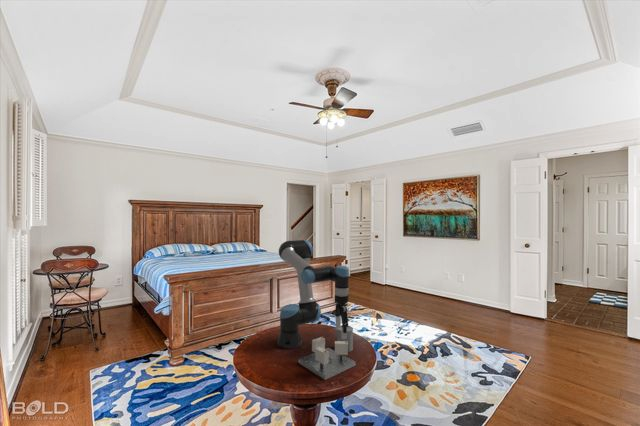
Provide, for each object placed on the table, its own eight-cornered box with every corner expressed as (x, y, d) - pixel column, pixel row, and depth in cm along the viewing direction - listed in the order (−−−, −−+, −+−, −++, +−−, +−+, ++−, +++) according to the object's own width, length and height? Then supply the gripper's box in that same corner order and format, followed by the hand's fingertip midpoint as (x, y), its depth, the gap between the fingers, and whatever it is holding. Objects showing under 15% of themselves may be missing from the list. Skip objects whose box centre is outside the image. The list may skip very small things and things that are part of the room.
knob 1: (315, 365, 160) (315, 346, 160) (319, 363, 162) (319, 345, 162) (324, 370, 154) (324, 351, 154) (328, 368, 156) (328, 349, 156)
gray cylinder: (352, 352, 179) (352, 332, 179) (335, 351, 181) (336, 330, 181) (353, 345, 188) (353, 325, 188) (338, 344, 190) (338, 324, 190)
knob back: (315, 358, 168) (315, 340, 168) (312, 356, 170) (312, 338, 170) (324, 354, 172) (325, 337, 172) (321, 352, 174) (321, 335, 174)
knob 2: (334, 359, 166) (334, 341, 166) (334, 357, 169) (334, 339, 169) (347, 360, 165) (347, 342, 165) (347, 357, 168) (347, 340, 168)
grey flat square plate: (298, 362, 167) (298, 357, 167) (328, 350, 181) (328, 345, 181) (325, 379, 150) (325, 373, 150) (355, 365, 164) (355, 359, 164)
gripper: (354, 301, 155) (354, 342, 156) (342, 288, 180) (341, 323, 180) (340, 302, 154) (339, 343, 154) (330, 288, 178) (329, 324, 179)
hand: (340, 333), depth 167 cm, fingers open, 13 cm apart
